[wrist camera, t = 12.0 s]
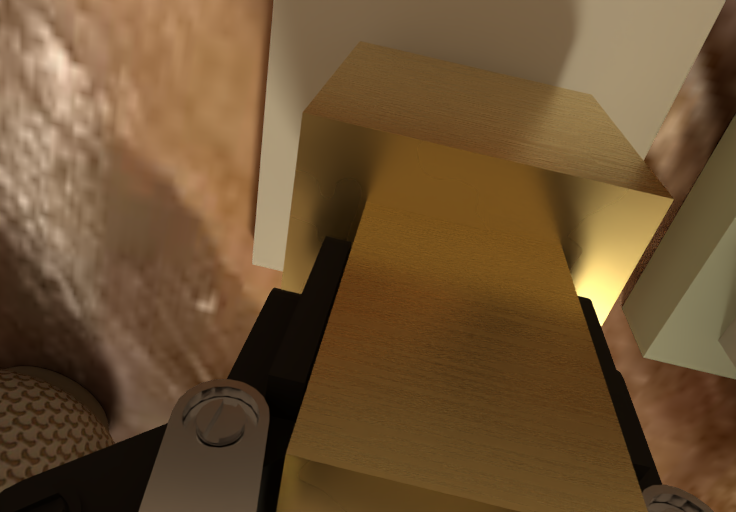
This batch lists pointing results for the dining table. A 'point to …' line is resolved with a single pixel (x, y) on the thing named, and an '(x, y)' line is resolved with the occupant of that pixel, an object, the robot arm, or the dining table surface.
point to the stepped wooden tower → (462, 291)
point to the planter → (45, 423)
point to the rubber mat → (476, 64)
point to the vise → (694, 276)
